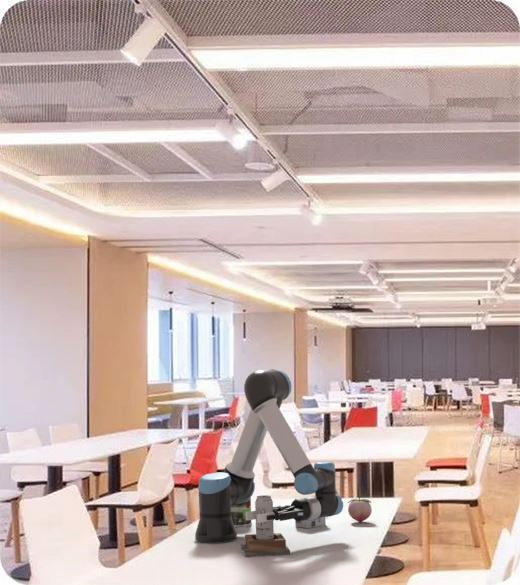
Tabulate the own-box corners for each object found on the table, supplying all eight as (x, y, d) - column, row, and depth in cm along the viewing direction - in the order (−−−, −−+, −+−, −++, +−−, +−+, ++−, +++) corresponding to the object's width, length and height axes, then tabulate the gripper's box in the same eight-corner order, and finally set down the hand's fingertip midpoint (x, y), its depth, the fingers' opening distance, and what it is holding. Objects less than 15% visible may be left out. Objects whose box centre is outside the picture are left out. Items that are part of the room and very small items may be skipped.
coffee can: (257, 523, 391) (256, 487, 392) (240, 528, 383) (239, 491, 384) (236, 521, 398) (235, 486, 398) (220, 525, 389) (219, 489, 390)
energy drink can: (253, 542, 337) (252, 497, 337) (259, 538, 342) (258, 494, 343) (270, 542, 335) (269, 498, 335) (276, 539, 340) (275, 495, 341)
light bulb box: (306, 528, 378) (305, 500, 378) (294, 526, 383) (293, 498, 383) (326, 524, 385) (325, 496, 385) (314, 522, 390) (313, 495, 390)
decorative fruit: (372, 520, 392) (371, 494, 392) (372, 524, 384) (371, 497, 384) (348, 520, 393) (347, 495, 393) (348, 524, 384) (347, 498, 385)
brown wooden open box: (241, 547, 345) (240, 534, 345) (283, 545, 347) (283, 532, 347) (245, 556, 330) (245, 542, 330) (290, 554, 332) (289, 540, 332)
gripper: (322, 523, 342) (269, 532, 328) (288, 516, 357) (236, 525, 343) (322, 501, 342) (268, 509, 329) (287, 495, 358) (235, 503, 344)
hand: (252, 517), depth 336 cm, fingers closed on energy drink can, 6 cm apart
